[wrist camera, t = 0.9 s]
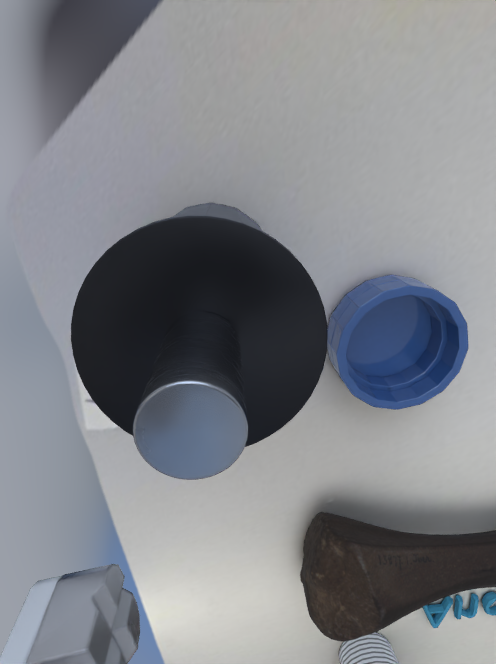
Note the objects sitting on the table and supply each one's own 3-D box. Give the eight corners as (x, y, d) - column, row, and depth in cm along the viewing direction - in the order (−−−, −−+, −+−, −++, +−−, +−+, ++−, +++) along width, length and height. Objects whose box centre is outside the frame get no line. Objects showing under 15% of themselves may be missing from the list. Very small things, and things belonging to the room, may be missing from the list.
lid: (70, 421, 19) (-14, 556, 12) (91, 187, 16) (-9, 194, 9) (289, 454, 20) (323, 593, 13) (351, 242, 17) (435, 285, 10)
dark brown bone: (286, 536, 45) (522, 497, 49) (313, 661, 38) (585, 603, 42) (301, 497, 37) (583, 454, 41) (338, 646, 30) (672, 576, 34)
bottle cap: (302, 351, 36) (311, 372, 32) (373, 251, 33) (393, 260, 29) (392, 404, 38) (411, 429, 34) (466, 313, 35) (495, 329, 31)
